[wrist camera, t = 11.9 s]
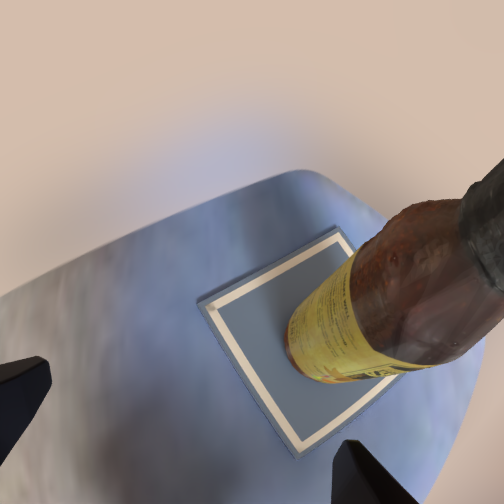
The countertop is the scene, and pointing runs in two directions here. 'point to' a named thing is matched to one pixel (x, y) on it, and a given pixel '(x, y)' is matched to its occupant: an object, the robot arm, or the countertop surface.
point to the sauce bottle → (408, 292)
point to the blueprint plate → (273, 347)
